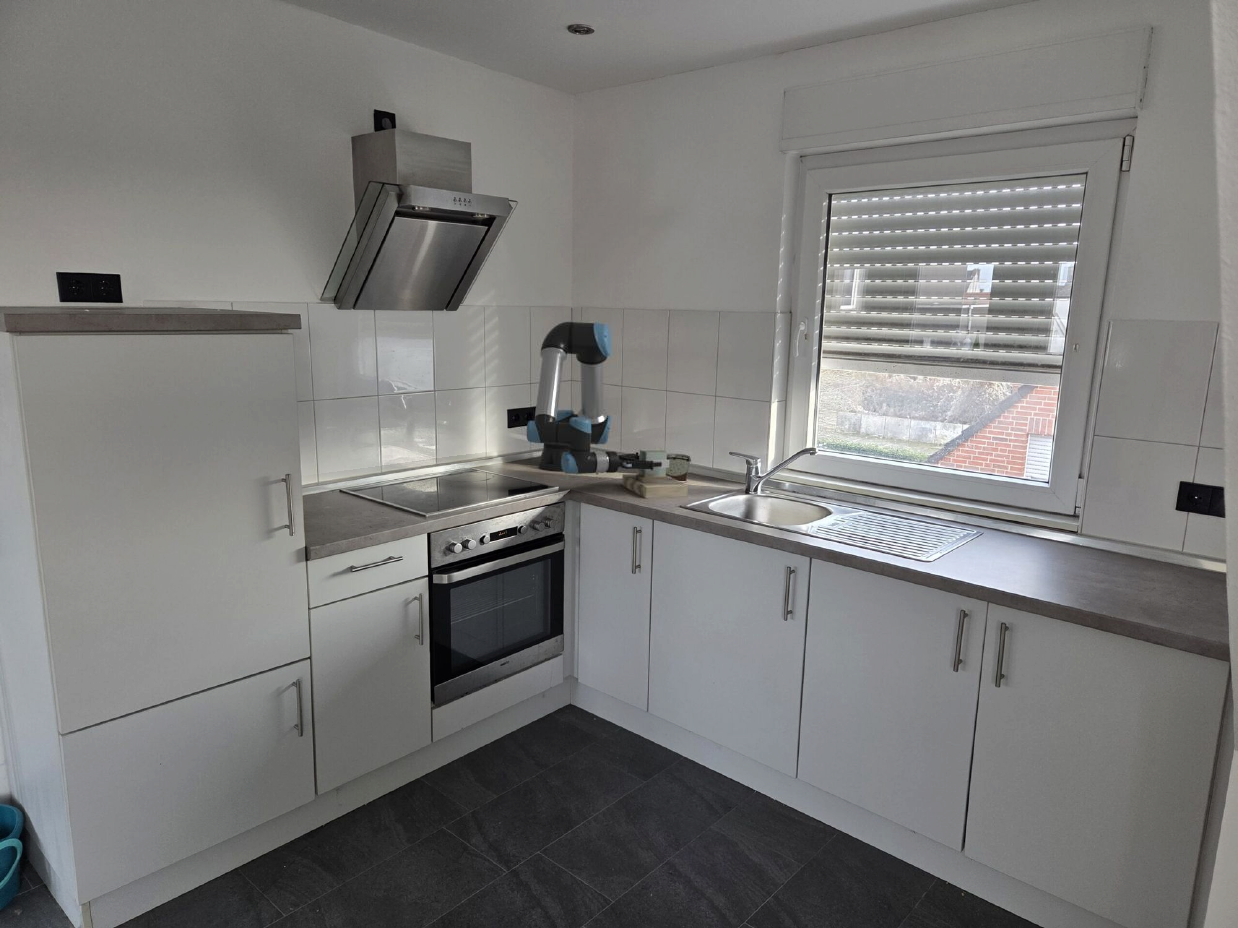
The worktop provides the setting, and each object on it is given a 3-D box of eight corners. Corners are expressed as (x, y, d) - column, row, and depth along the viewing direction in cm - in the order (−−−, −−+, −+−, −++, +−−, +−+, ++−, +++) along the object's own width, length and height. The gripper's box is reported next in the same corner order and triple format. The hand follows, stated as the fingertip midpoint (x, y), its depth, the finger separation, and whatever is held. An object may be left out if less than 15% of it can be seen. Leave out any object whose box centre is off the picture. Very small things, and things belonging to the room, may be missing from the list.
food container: (690, 479, 318) (691, 454, 316) (690, 482, 312) (691, 457, 310) (658, 477, 319) (660, 452, 318) (658, 480, 313) (659, 455, 311)
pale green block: (635, 478, 295) (637, 449, 293) (660, 477, 299) (662, 449, 297) (642, 481, 289) (644, 452, 288) (667, 480, 293) (669, 452, 291)
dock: (622, 484, 302) (622, 473, 301) (661, 483, 308) (661, 472, 307) (645, 498, 282) (646, 486, 281) (687, 496, 288) (687, 485, 288)
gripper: (593, 466, 297) (648, 464, 305) (616, 479, 276) (675, 477, 284) (594, 446, 296) (649, 445, 304) (617, 457, 275) (676, 456, 283)
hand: (662, 460), depth 294 cm, fingers open, 10 cm apart
